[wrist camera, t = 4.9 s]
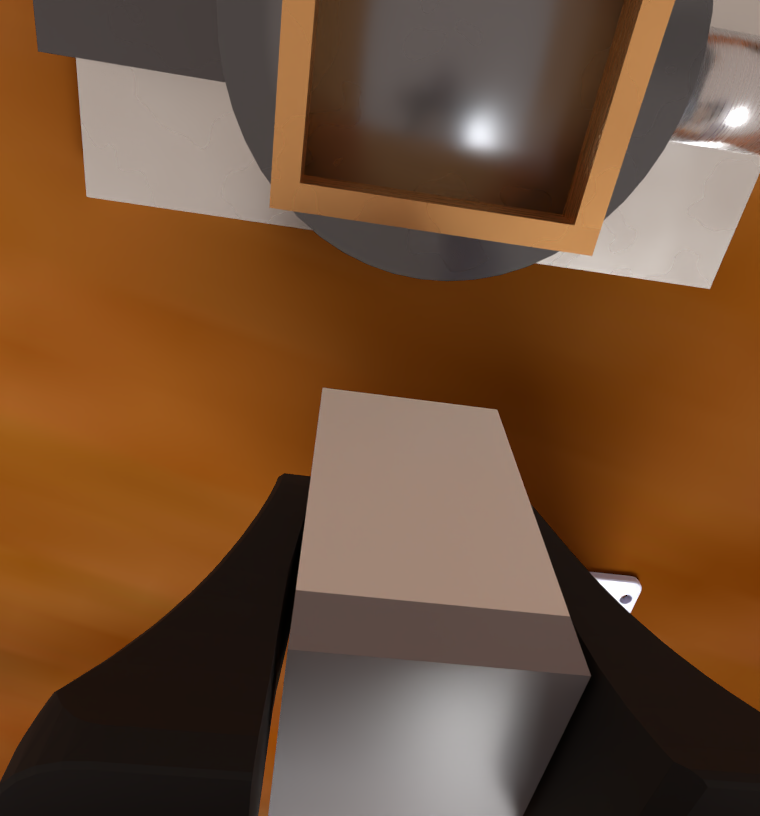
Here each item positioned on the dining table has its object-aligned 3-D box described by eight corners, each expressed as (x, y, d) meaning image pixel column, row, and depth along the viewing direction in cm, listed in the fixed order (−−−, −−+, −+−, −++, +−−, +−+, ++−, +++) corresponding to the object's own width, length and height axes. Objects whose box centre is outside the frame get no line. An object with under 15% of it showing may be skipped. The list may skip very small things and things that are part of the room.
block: (460, 541, 16) (514, 834, 10) (306, 524, 16) (267, 818, 10) (497, 409, 14) (591, 675, 8) (322, 387, 14) (288, 649, 8)
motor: (694, 277, 20) (787, 344, 15) (100, 189, 18) (15, 235, 14) (888, -191, 14) (1118, -293, 10) (62, -378, 13) (-99, -599, 8)
